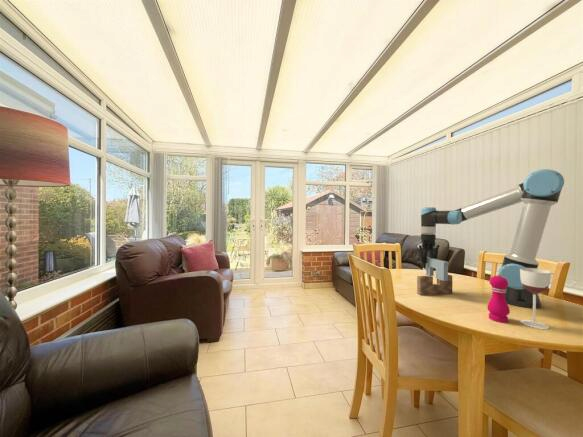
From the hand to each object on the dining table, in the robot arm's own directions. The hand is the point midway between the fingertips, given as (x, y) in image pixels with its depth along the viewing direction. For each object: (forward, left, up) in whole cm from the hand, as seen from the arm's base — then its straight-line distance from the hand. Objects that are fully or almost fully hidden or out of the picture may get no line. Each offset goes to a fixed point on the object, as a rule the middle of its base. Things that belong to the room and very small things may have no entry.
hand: (427, 273), depth 140 cm
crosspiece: (-5, 0, -1) cm, 5 cm away
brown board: (-6, 0, -10) cm, 11 cm away
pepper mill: (-40, -2, -10) cm, 41 cm away
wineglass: (-46, -12, -10) cm, 48 cm away
